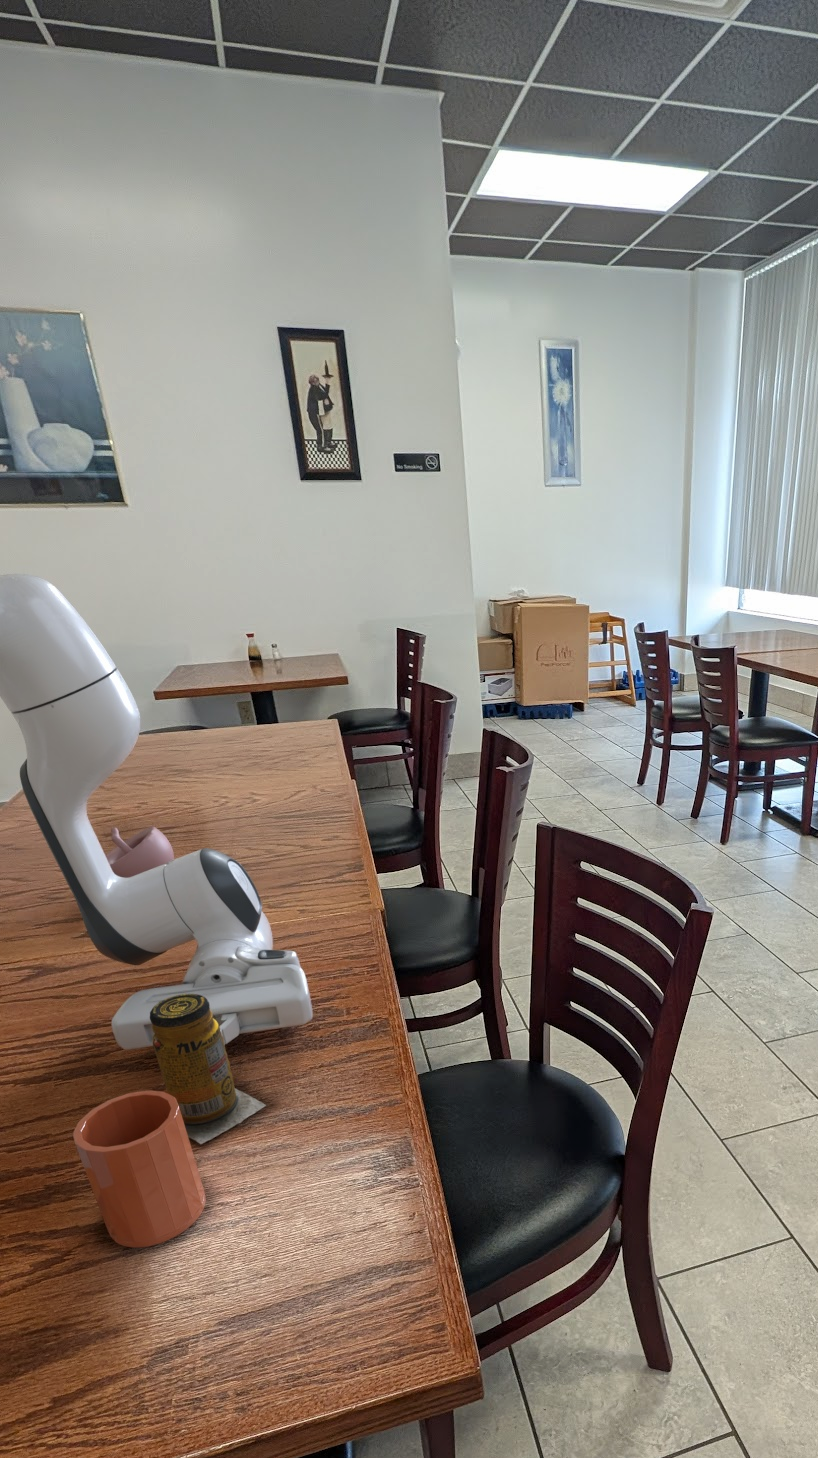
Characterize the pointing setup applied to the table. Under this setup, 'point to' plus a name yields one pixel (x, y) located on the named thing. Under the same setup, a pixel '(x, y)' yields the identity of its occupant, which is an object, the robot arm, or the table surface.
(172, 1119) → the terracotta cup
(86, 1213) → the table surface
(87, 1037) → the table surface
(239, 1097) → the condiment
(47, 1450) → the table surface
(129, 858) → the mortar and pestle
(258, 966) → the robot arm
